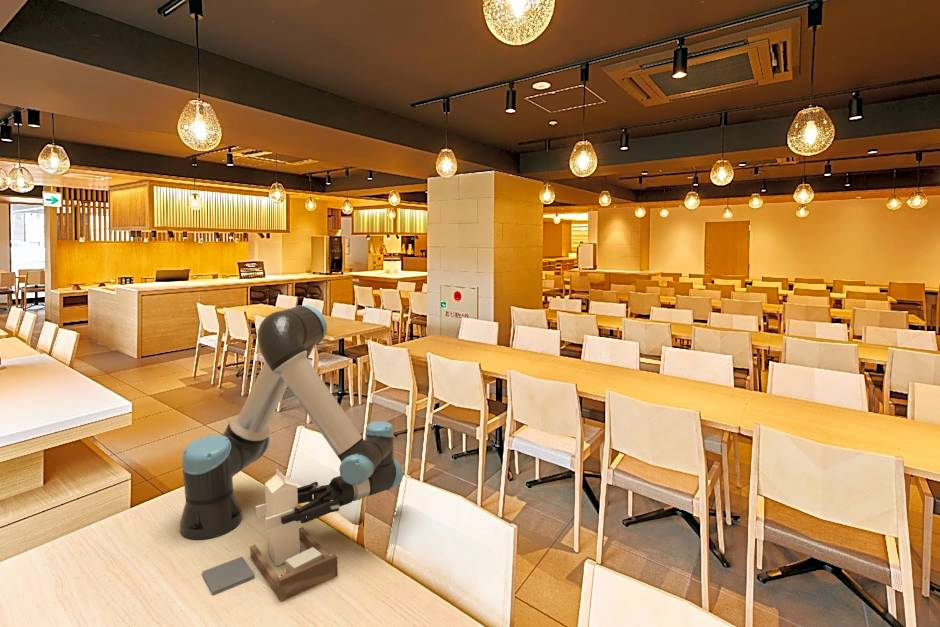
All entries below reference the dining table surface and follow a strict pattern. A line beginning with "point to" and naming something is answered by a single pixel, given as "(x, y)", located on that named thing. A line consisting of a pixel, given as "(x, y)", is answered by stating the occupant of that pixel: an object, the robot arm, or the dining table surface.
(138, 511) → the dining table surface
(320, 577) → the rack
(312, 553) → the offcut top
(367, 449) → the robot arm
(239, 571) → the slate pad
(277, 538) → the milk
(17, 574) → the dining table surface
